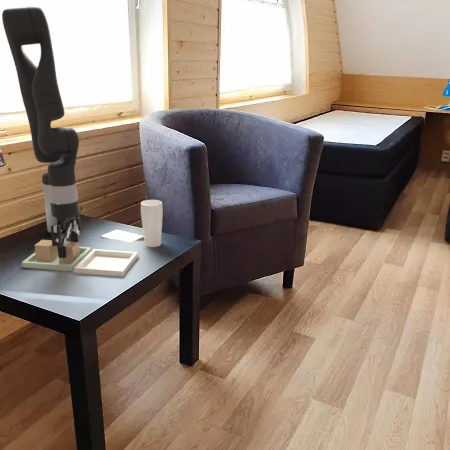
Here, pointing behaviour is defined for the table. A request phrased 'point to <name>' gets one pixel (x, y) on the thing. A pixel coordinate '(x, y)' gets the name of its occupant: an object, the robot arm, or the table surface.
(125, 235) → the external hard drive
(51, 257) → the tan boxy piece
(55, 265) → the tray
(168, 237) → the table surface
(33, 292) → the table surface
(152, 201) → the drinking glass
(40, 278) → the table surface
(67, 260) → the tan block
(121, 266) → the tray
